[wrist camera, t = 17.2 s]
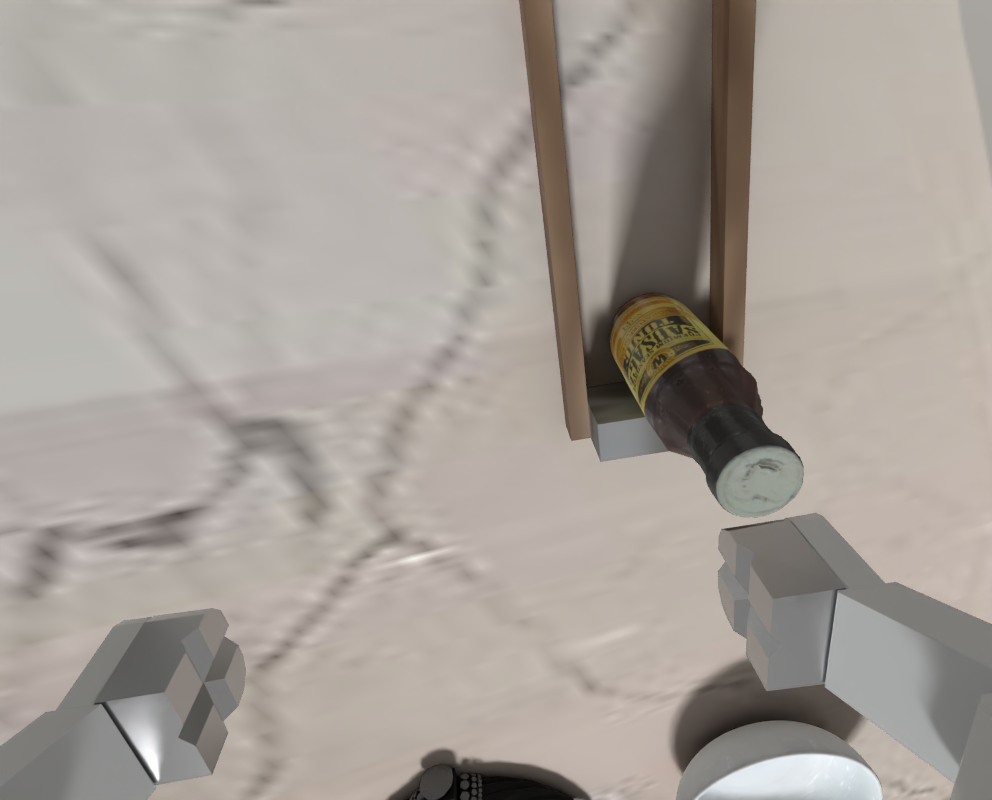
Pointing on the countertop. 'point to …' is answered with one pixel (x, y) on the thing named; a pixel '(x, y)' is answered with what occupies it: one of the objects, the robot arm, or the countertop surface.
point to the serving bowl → (778, 766)
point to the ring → (479, 787)
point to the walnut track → (614, 407)
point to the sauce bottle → (704, 404)
